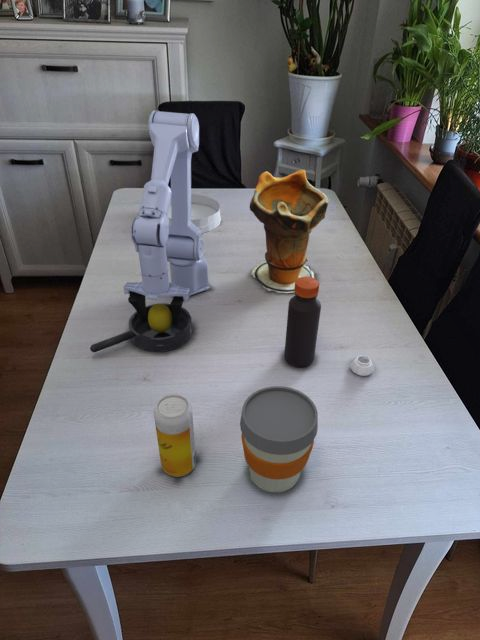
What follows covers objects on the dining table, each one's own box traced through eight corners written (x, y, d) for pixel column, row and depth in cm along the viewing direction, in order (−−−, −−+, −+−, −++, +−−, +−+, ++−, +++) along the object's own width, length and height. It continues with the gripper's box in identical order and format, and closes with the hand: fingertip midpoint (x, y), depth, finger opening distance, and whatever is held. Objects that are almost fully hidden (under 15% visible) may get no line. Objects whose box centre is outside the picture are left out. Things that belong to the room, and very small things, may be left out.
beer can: (162, 452, 88) (154, 393, 79) (196, 451, 89) (192, 392, 80) (160, 480, 84) (151, 420, 74) (195, 478, 84) (191, 419, 75)
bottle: (297, 345, 114) (305, 270, 102) (319, 359, 111) (331, 283, 98) (277, 357, 111) (283, 281, 98) (299, 372, 107) (308, 295, 94)
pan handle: (132, 334, 112) (131, 328, 111) (135, 338, 111) (134, 332, 110) (89, 350, 107) (88, 344, 106) (92, 355, 106) (91, 348, 105)
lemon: (168, 340, 113) (165, 312, 108) (146, 337, 114) (142, 309, 109) (176, 327, 117) (174, 299, 112) (154, 323, 118) (151, 296, 113)
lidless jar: (364, 360, 111) (346, 365, 109) (367, 350, 109) (348, 355, 108) (377, 373, 108) (357, 379, 106) (379, 363, 106) (360, 369, 104)
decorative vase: (268, 307, 126) (274, 203, 109) (235, 265, 142) (236, 169, 125) (337, 292, 133) (353, 192, 116) (298, 254, 149) (307, 161, 132)
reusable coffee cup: (306, 443, 91) (314, 385, 82) (313, 501, 82) (324, 443, 72) (239, 443, 91) (240, 384, 81) (239, 502, 81) (240, 443, 72)
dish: (217, 236, 157) (217, 221, 154) (149, 233, 156) (147, 218, 153) (223, 208, 174) (222, 195, 171) (161, 206, 174) (159, 192, 170)
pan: (173, 309, 124) (172, 296, 121) (203, 337, 115) (203, 324, 113) (120, 328, 117) (118, 315, 114) (148, 360, 108) (146, 347, 106)
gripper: (115, 276, 103) (124, 328, 111) (182, 283, 101) (186, 334, 110) (126, 260, 108) (134, 310, 117) (190, 266, 107) (193, 317, 115)
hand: (160, 321), depth 114 cm, fingers open, 7 cm apart
